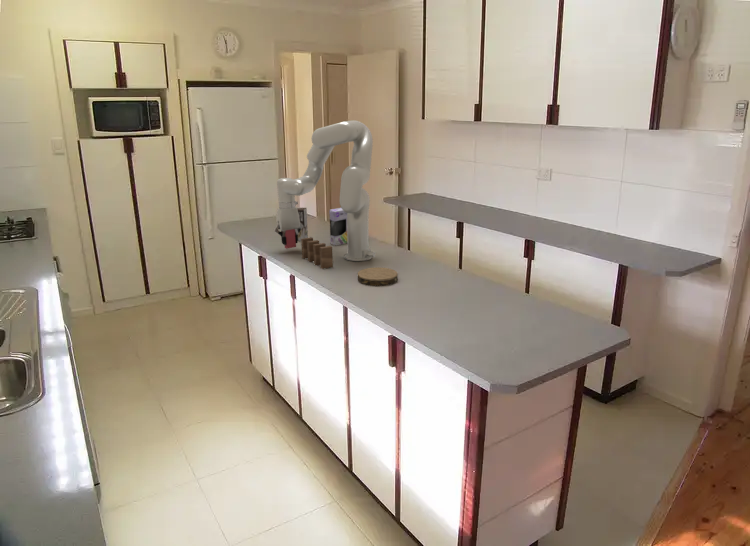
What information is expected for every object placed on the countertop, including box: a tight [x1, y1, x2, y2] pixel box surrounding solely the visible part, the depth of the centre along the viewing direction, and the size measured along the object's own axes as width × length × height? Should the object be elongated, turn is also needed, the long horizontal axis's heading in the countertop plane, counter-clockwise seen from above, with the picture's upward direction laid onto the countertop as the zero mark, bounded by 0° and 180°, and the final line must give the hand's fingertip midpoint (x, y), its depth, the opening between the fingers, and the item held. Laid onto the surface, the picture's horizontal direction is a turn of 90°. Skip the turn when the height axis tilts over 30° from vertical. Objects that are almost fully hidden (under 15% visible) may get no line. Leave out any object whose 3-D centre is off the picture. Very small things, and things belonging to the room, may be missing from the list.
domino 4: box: [319, 245, 334, 270], centre depth 231 cm, size 2×5×9 cm, turn 123°
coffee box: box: [297, 207, 309, 242], centre depth 276 cm, size 9×6×16 cm
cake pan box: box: [328, 207, 347, 246], centre depth 271 cm, size 19×5×18 cm, turn 131°
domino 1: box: [300, 236, 314, 260], centre depth 245 cm, size 2×5×9 cm, turn 123°
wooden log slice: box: [357, 267, 399, 287], centre depth 216 cm, size 16×16×3 cm
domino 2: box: [307, 239, 320, 263], centre depth 240 cm, size 2×5×9 cm, turn 123°
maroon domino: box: [284, 229, 297, 250], centre depth 254 cm, size 2×5×9 cm, turn 123°
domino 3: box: [313, 242, 327, 266], centre depth 235 cm, size 2×5×9 cm, turn 123°
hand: (290, 243), depth 255 cm, fingers closed on maroon domino, 4 cm apart
